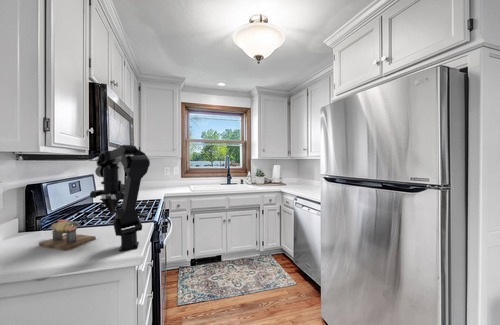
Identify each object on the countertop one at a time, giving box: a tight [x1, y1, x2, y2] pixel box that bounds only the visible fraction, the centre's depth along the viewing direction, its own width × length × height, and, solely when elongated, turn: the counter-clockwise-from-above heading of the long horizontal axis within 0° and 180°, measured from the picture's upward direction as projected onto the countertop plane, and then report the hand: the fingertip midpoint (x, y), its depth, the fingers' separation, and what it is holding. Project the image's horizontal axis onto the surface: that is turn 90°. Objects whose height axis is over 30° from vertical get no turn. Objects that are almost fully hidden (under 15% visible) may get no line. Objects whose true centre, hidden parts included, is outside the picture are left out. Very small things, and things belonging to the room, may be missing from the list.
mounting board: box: [38, 233, 96, 251], centre depth 98 cm, size 16×12×1 cm
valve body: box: [50, 222, 78, 244], centre depth 97 cm, size 11×6×8 cm, turn 73°
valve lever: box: [57, 219, 80, 227], centre depth 102 cm, size 2×2×11 cm
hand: (112, 213), depth 102 cm, fingers closed
